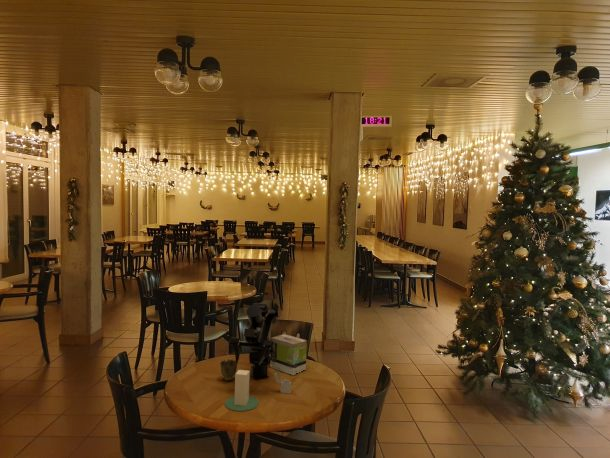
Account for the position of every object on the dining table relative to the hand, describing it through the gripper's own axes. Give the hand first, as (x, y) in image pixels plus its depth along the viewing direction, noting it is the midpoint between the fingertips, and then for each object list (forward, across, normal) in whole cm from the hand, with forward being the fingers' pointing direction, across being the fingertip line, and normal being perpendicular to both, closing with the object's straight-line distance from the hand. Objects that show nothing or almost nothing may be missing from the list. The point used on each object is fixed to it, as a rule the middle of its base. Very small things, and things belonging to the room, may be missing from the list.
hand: (247, 364), depth 174 cm
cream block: (+14, 0, +4) cm, 15 cm away
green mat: (+14, 0, +5) cm, 15 cm away
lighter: (+4, +13, +15) cm, 20 cm away
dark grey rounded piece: (0, -12, +20) cm, 23 cm away
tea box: (-14, +11, +33) cm, 38 cm away
